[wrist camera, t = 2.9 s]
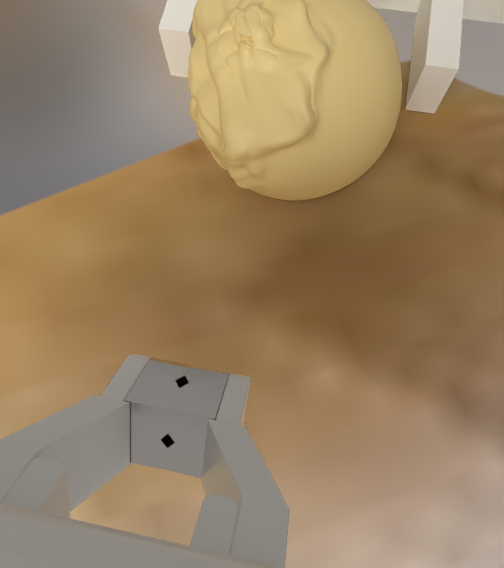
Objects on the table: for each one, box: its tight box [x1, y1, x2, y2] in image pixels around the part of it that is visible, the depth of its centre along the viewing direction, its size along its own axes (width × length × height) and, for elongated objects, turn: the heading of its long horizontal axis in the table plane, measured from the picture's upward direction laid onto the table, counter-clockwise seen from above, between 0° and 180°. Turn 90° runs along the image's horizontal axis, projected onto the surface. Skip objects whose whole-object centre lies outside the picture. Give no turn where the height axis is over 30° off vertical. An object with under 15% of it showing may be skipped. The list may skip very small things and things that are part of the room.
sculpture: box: [188, 0, 402, 200], centre depth 25 cm, size 11×12×11 cm
